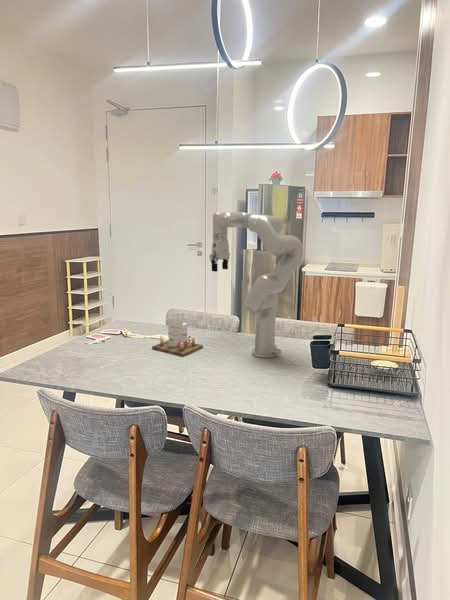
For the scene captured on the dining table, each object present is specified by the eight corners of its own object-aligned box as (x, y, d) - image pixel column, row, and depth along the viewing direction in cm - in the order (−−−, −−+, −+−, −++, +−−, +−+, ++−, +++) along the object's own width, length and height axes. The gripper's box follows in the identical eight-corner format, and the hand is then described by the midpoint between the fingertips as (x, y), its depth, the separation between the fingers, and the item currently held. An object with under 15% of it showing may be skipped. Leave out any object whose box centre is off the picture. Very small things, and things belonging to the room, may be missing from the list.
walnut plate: (203, 348, 216) (203, 345, 216) (183, 356, 203) (183, 353, 203) (172, 341, 227) (172, 338, 227) (152, 349, 214) (152, 346, 214)
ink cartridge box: (187, 345, 216) (187, 317, 213) (183, 348, 211) (183, 319, 208) (172, 343, 219) (172, 315, 216) (168, 346, 214) (167, 318, 211)
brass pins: (195, 345, 215) (195, 338, 215) (182, 351, 207) (182, 343, 206) (173, 340, 223) (173, 333, 222) (159, 346, 215) (159, 338, 214)
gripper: (216, 238, 208) (216, 272, 212) (235, 236, 222) (234, 269, 226) (204, 237, 212) (204, 271, 216) (223, 235, 226) (223, 267, 230)
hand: (219, 270), depth 221 cm, fingers open, 9 cm apart
